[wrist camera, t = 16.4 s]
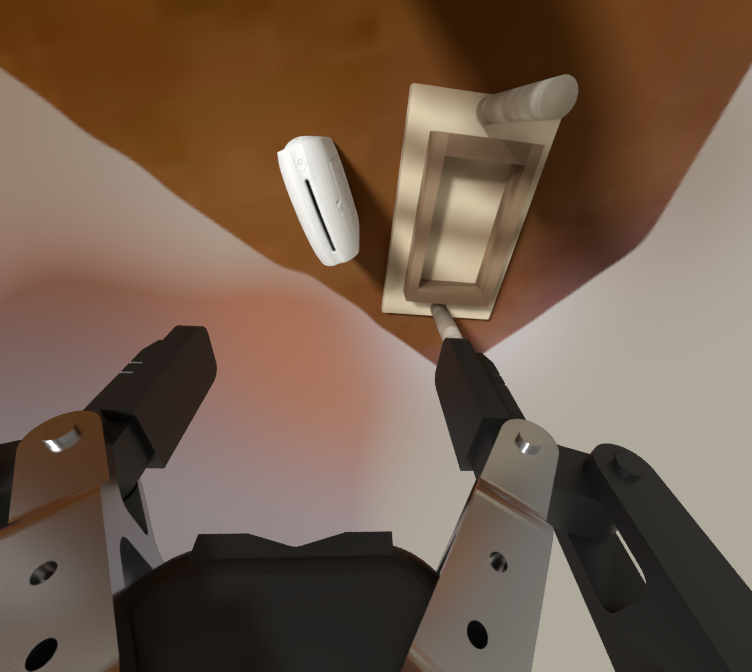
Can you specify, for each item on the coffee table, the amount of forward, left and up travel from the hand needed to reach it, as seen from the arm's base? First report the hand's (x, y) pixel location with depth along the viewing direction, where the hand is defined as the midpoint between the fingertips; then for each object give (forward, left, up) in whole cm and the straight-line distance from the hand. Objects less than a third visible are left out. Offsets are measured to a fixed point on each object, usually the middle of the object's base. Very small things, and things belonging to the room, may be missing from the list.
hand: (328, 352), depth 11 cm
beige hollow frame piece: (+1, +13, -29) cm, 31 cm away
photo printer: (-1, -2, -29) cm, 29 cm away
